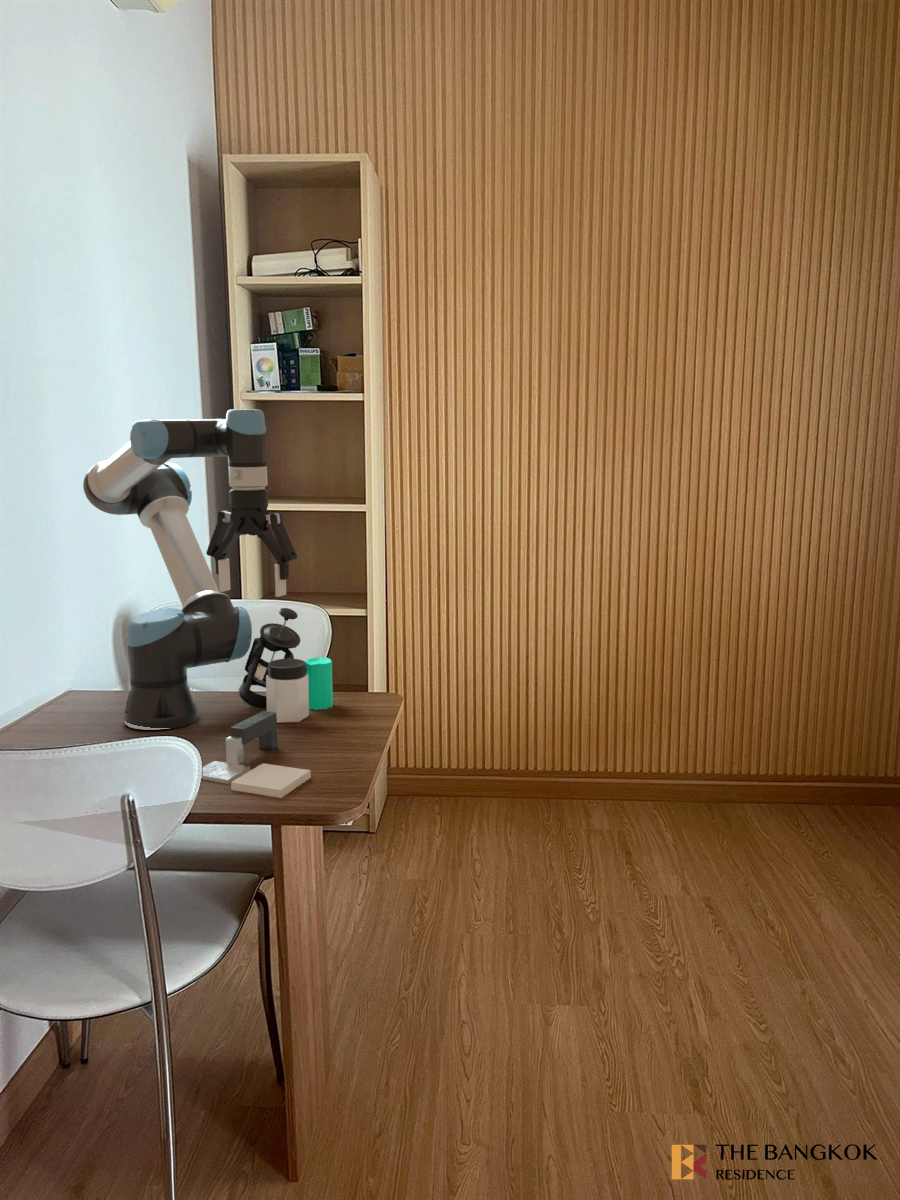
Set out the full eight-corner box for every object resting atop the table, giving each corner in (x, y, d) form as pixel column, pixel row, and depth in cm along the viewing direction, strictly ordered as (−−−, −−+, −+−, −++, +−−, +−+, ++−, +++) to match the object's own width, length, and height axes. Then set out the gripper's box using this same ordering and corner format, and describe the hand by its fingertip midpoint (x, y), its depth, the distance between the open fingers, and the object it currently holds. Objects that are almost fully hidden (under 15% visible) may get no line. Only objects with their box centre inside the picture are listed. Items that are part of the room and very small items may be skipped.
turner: (254, 743, 191) (252, 709, 190) (288, 748, 188) (287, 714, 187) (190, 777, 173) (188, 740, 172) (227, 783, 170) (225, 746, 169)
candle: (316, 700, 220) (314, 649, 218) (338, 704, 217) (336, 652, 215) (300, 707, 215) (298, 655, 212) (322, 711, 212) (321, 658, 210)
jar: (315, 718, 207) (314, 664, 204) (281, 726, 202) (280, 670, 199) (294, 708, 214) (293, 656, 211) (261, 715, 208) (260, 661, 206)
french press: (289, 706, 217) (320, 623, 207) (255, 714, 210) (285, 628, 200) (260, 675, 223) (289, 593, 213) (226, 682, 216) (254, 597, 206)
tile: (262, 763, 176) (230, 782, 167) (310, 770, 172) (280, 790, 163) (263, 773, 176) (231, 792, 167) (310, 780, 173) (281, 800, 164)
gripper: (185, 487, 193) (191, 591, 197) (291, 491, 183) (294, 600, 187) (209, 485, 200) (213, 585, 204) (312, 488, 190) (315, 594, 194)
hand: (252, 593), depth 195 cm, fingers open, 13 cm apart
